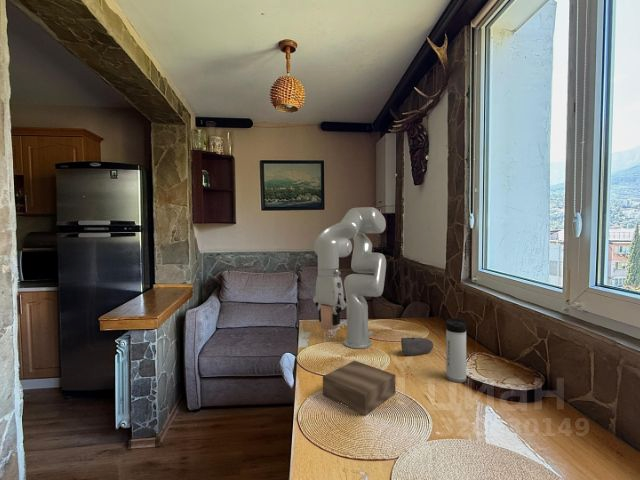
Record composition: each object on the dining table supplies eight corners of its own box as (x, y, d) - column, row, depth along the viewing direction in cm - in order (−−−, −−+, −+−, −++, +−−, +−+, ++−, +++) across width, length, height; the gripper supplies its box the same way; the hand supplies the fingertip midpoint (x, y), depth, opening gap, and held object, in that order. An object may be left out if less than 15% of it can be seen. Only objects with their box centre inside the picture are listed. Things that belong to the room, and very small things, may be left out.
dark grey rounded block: (430, 350, 132) (430, 334, 132) (436, 355, 127) (436, 338, 127) (396, 353, 130) (396, 336, 129) (402, 358, 124) (402, 340, 124)
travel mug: (465, 375, 109) (464, 318, 108) (467, 384, 102) (467, 323, 102) (445, 372, 111) (445, 317, 110) (446, 381, 104) (446, 322, 104)
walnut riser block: (354, 377, 108) (354, 360, 108) (395, 393, 97) (395, 374, 97) (322, 395, 96) (322, 376, 96) (365, 415, 85) (365, 394, 85)
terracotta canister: (328, 323, 116) (328, 302, 116) (341, 326, 112) (340, 304, 112) (317, 327, 112) (317, 305, 112) (330, 330, 108) (329, 307, 107)
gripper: (354, 273, 108) (354, 325, 109) (318, 270, 120) (319, 316, 121) (340, 276, 103) (341, 330, 103) (304, 272, 114) (305, 320, 115)
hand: (329, 322), depth 112 cm, fingers closed on terracotta canister, 6 cm apart
